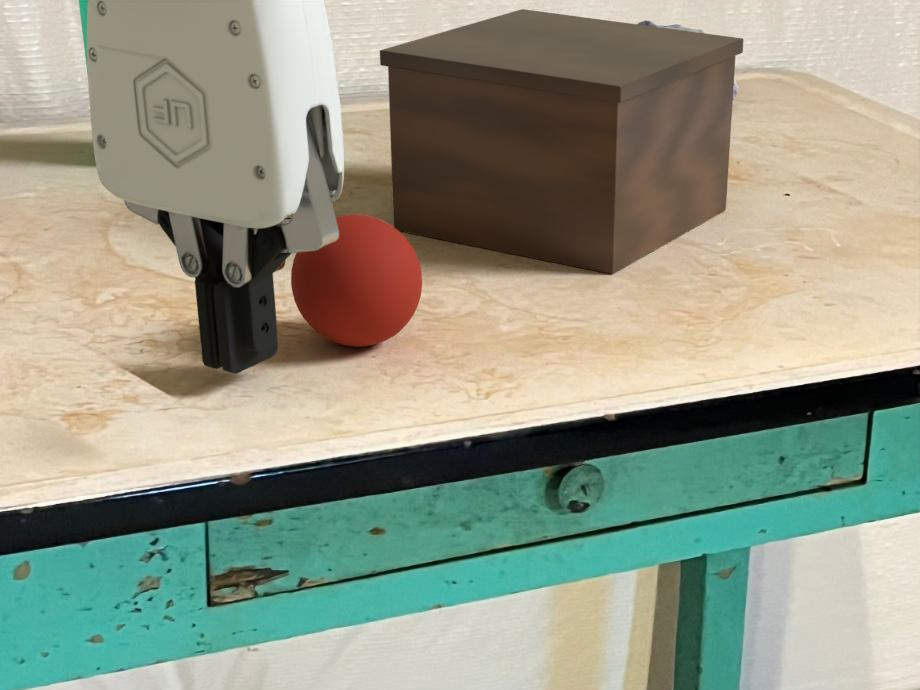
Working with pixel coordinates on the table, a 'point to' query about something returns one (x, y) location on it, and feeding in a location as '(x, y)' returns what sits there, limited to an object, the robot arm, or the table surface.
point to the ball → (358, 283)
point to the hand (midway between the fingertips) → (241, 360)
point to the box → (560, 135)
